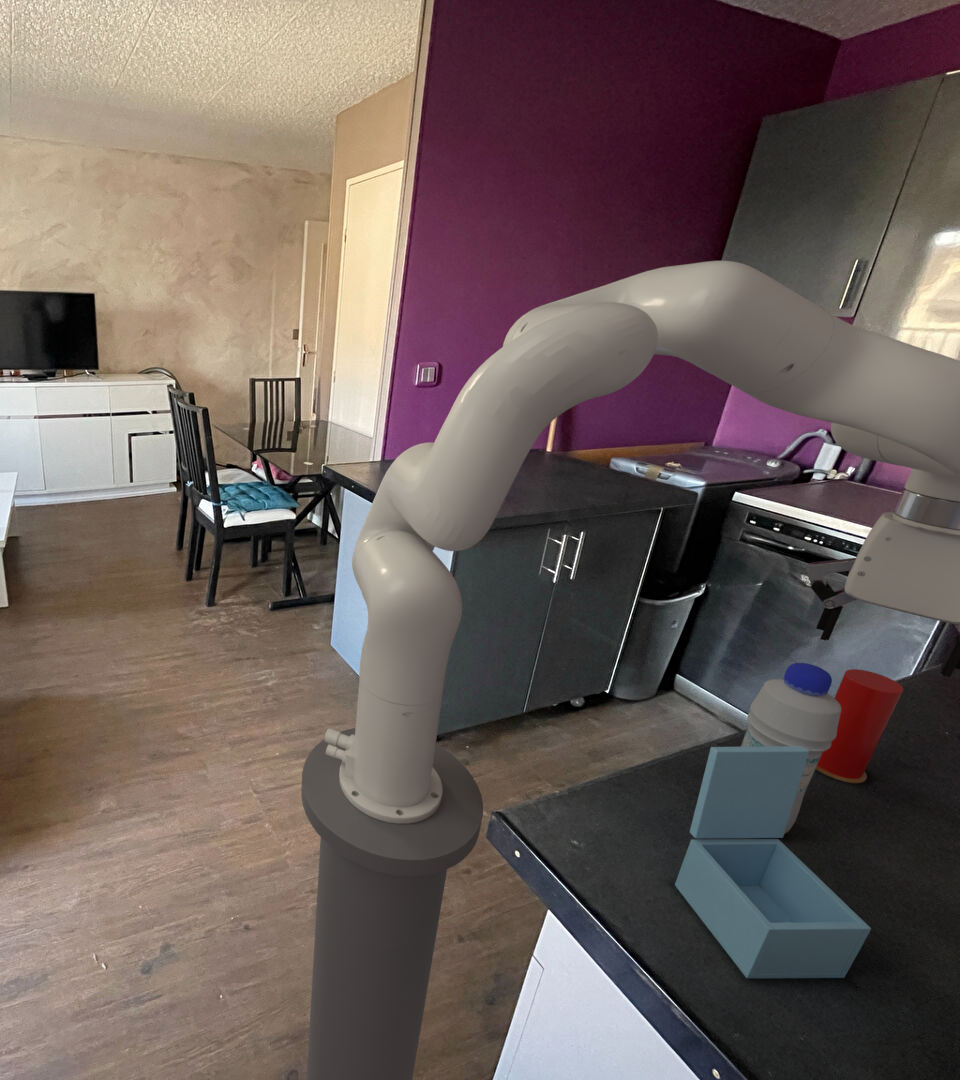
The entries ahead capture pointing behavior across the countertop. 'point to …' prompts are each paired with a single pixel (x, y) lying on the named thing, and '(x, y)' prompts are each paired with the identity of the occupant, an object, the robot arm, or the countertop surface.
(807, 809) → the countertop surface
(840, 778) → the coaster
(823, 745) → the bottle
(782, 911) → the box
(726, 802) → the cooler lid
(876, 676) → the can
